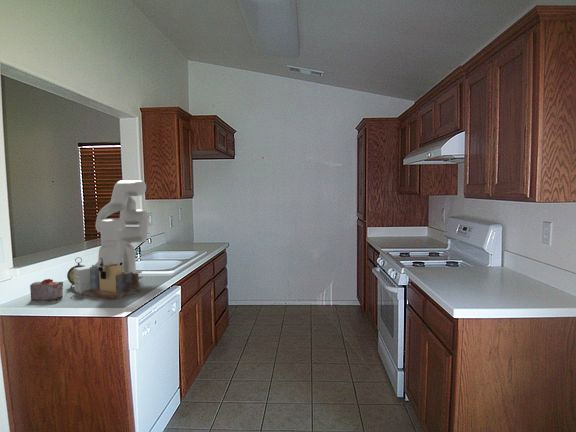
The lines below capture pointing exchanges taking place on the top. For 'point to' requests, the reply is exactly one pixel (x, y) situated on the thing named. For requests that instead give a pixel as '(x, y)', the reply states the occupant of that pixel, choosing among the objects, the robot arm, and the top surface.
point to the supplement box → (82, 279)
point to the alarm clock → (71, 273)
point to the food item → (46, 290)
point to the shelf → (124, 285)
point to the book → (110, 278)
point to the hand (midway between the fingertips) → (110, 277)
